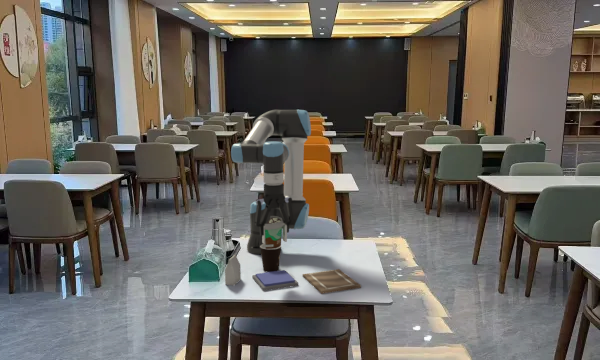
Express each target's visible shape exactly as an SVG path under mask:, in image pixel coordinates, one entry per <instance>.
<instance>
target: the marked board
mask: <svg viewBox="0 0 600 360" xmlns="http://www.w3.org/2000/svg"><path fill="white" fill-rule="evenodd" d="M302 277H303V279H305V281H307V282H308V283H309V284H310V285H311V286H312V287H313V286H314V287H313V288H314V289H316V291H318V292H319V293H320V294H321V295H322V294H329V293H335V292H343V291H348V290H356V289H361V288H362V285H361V284H360V283H359V282H357V281H356V280H355V279H353V278H352V277H350V276H349V274H347V273H345V272H344V271H342V270H341V269H340V268H338V269H331V270H322V271H317V272H316V271H315V272H308V273H302Z"/></svg>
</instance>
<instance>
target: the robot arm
mask: <svg viewBox="0 0 600 360" xmlns="http://www.w3.org/2000/svg"><path fill="white" fill-rule="evenodd" d="M311 134H312V125H311V118H310V114H309V112H308V111H307V110H306V109H305V110H304V109H272V110H269V111H266V112H264V113H263V114H260V115H259V116H258V117H257V118H256V119H255V120H254V122H253V124H252V128H251V130H250V131H249V133H248V134H247V135H246V137H245V139H244V140H243V141H242V143H240V142H238V143H234V144H232V146H231V149H230V150H231V151H230V156H231V161H232V162H234V163H237V164H263V167H262V168H263V183H264V184H263V197H262V198H260V199H255V201H253V202H252V203H250V205H249V206H250V209H249V215H250V216H249V217H250V218H249V221H250V222H249V223H250V235H249V237H248V241H247V244H246V250H247V252H249V253H251V254H255V255H261V249H260V246H261V245H262V244H265V230H264V227H265V224H267V222H268V221H269V220H270V216H277V217H280V218H282V220H283V223H284V226H283V227H282V241H283V242H284V243H287V242H288V233H290V230H303V229H305V227H307V226H306V225H307V222H308V219H309V213H310V204H309V203H307V200H306V198H305V197H304V196H303V195H304V193H303V192H304V191H303V189H304V159H305V158H304V155H305V153H304V152H305V149H304V148H305V147H304V146H305V143H306V141H308V137H310V136H311ZM272 136H281V140H282V141H283V142H284V143H283V142H281V141H267V139H268V138H269V137H272Z"/></svg>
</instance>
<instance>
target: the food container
mask: <svg viewBox="0 0 600 360" xmlns="http://www.w3.org/2000/svg"><path fill="white" fill-rule="evenodd" d="M283 226H284V223H283V220H282V218H280V217H277V216H270V220H269V221H268V222H267V224H265V227H264V230H265V245H266V249H273V248H277V247H280V246H281V247H282V238H283V229H282V227H283Z"/></svg>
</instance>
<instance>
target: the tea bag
mask: <svg viewBox="0 0 600 360" xmlns="http://www.w3.org/2000/svg"><path fill="white" fill-rule="evenodd" d="M227 261H228V262H227V265H226V267H225V268H224V277H225V278H224V280H225V281H224V282H225V285H228V286H236V285H237V284H238V283H239V282H240V281H241V280H242V279H241V277H242V275H241V273H242V272H241V263H240V261H239V259H238V257H237V254H234V255H233V256H232V257H230V258H228V260H227Z"/></svg>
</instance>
